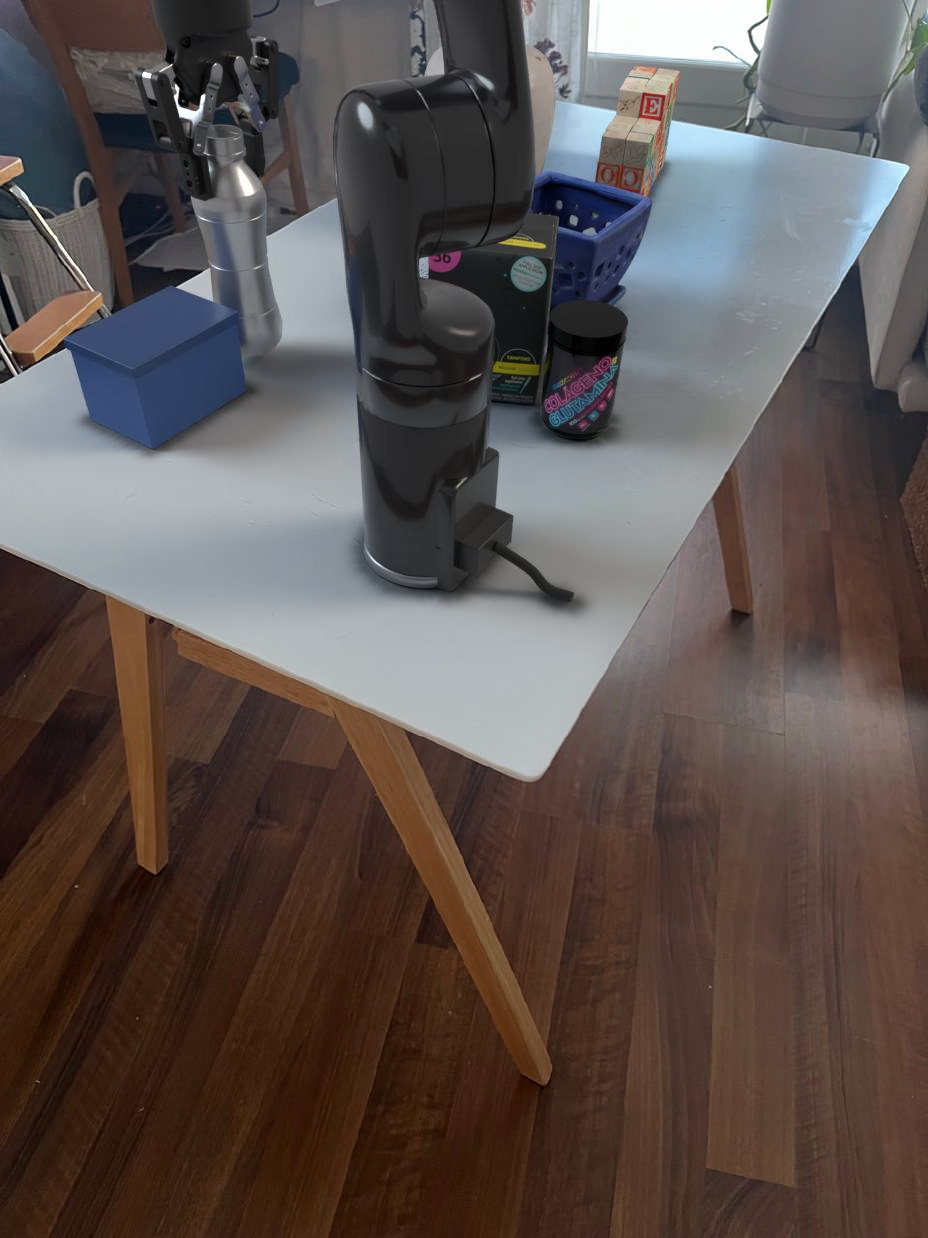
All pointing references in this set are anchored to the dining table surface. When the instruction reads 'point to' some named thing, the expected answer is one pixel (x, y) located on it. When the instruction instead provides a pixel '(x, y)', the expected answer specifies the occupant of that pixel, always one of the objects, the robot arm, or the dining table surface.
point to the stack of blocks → (638, 131)
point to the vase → (540, 96)
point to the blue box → (159, 365)
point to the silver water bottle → (238, 241)
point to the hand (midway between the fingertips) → (228, 185)
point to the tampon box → (511, 300)
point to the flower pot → (587, 259)
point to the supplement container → (582, 368)
